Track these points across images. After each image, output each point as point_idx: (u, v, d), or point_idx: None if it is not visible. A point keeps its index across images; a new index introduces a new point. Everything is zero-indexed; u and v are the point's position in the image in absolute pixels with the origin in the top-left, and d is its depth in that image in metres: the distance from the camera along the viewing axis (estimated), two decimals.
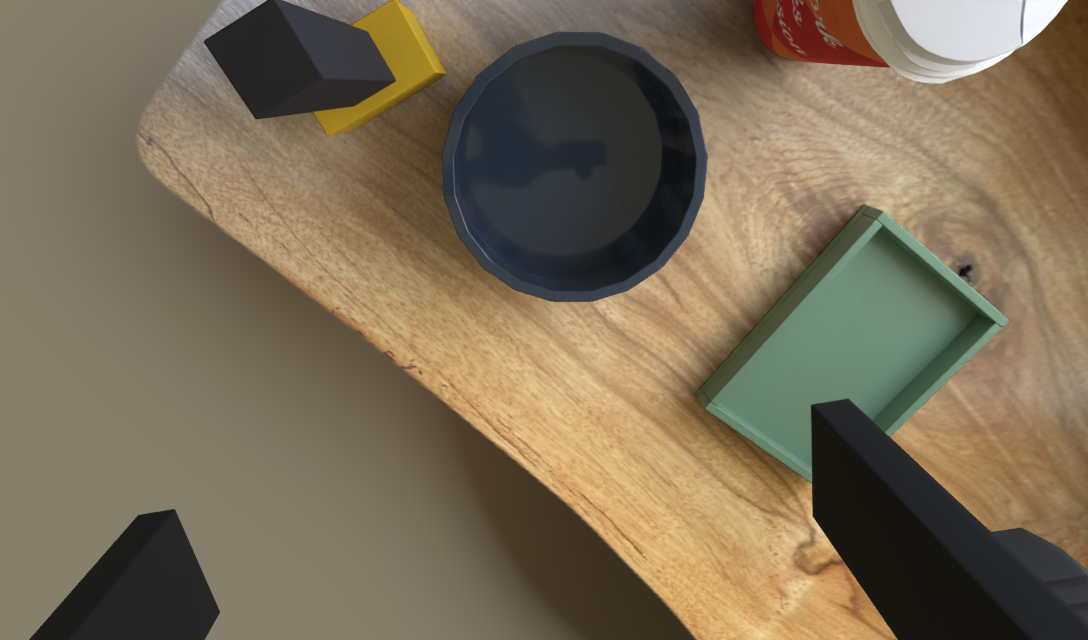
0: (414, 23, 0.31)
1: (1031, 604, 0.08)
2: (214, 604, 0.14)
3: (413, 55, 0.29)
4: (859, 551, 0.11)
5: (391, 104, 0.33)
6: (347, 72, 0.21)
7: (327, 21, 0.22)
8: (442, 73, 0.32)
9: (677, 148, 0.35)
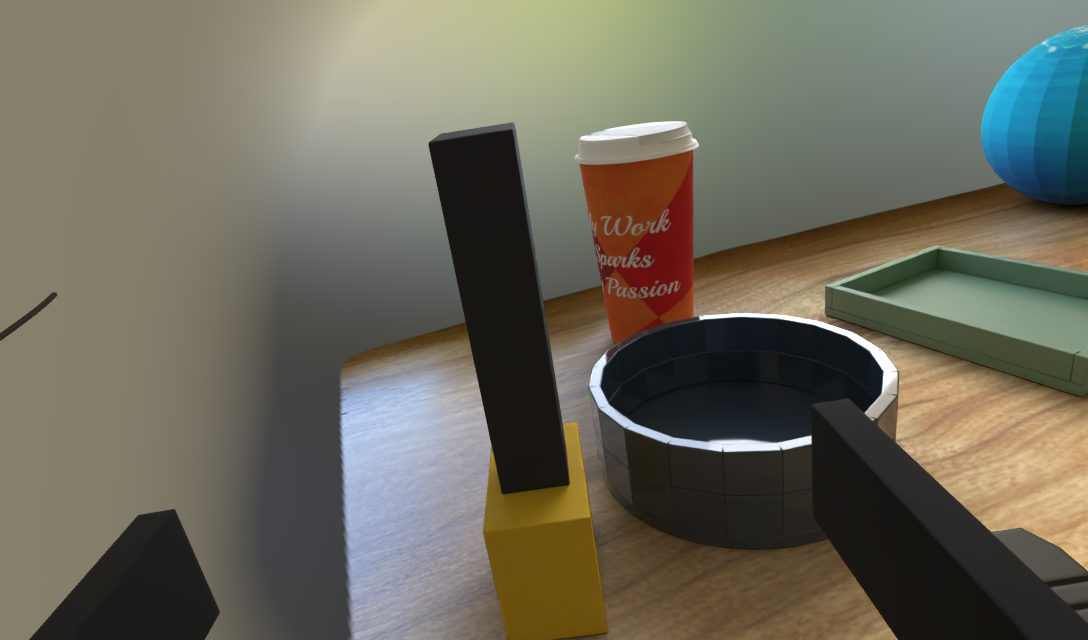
0: None
1: (1031, 604, 0.08)
2: (214, 604, 0.14)
3: None
4: (859, 551, 0.11)
5: None
6: None
7: None
8: None
9: (740, 378, 0.36)
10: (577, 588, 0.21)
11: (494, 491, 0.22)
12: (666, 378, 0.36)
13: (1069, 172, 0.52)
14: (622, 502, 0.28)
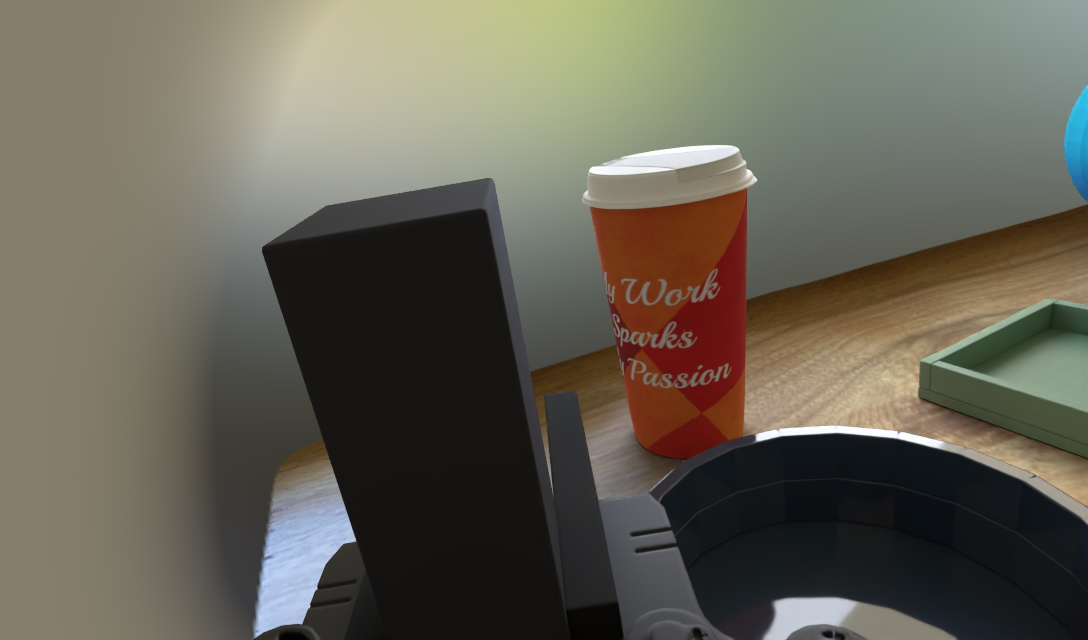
0: None
1: (582, 545, 0.10)
2: None
3: None
4: None
5: None
6: None
7: None
8: None
9: (833, 517, 0.25)
10: None
11: None
12: (727, 521, 0.24)
13: None
14: None
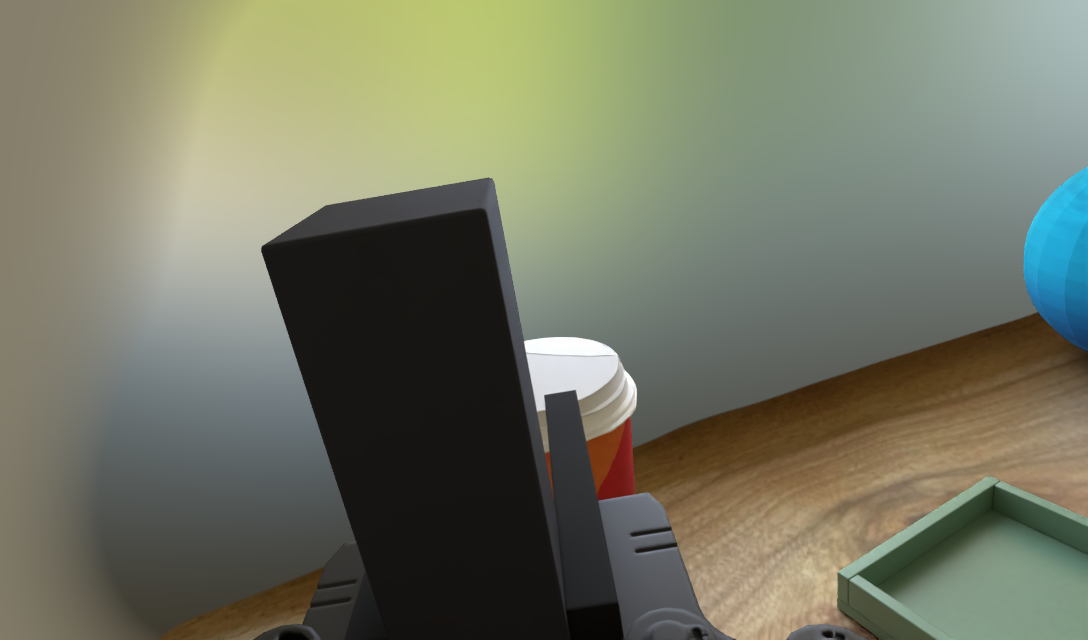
0: None
1: (582, 545, 0.10)
2: None
3: None
4: None
5: None
6: None
7: None
8: None
9: None
10: None
11: None
12: None
13: None
14: None
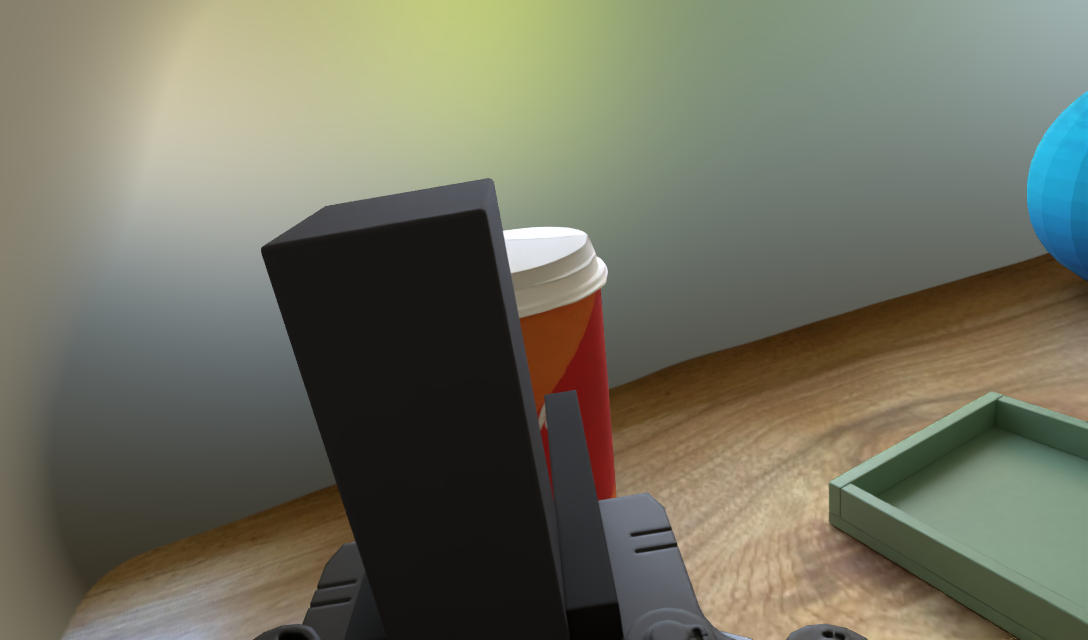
0: None
1: (582, 545, 0.10)
2: None
3: None
4: None
5: None
6: None
7: None
8: None
9: None
10: None
11: None
12: None
13: None
14: None
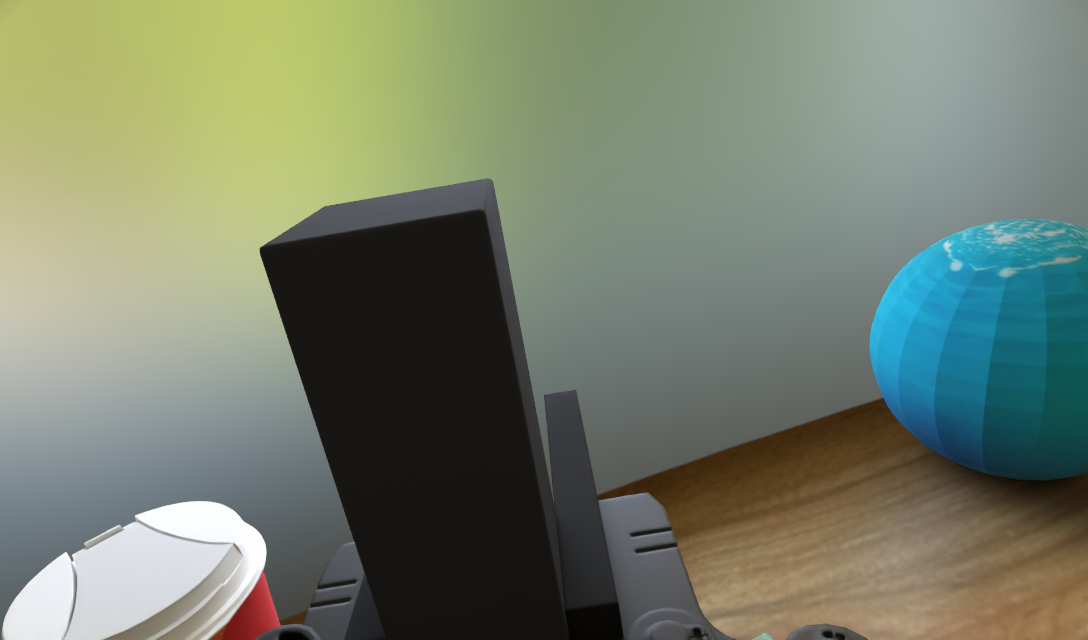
0: None
1: (582, 545, 0.10)
2: None
3: None
4: None
5: None
6: None
7: None
8: None
9: None
10: None
11: None
12: None
13: (988, 454, 0.34)
14: None
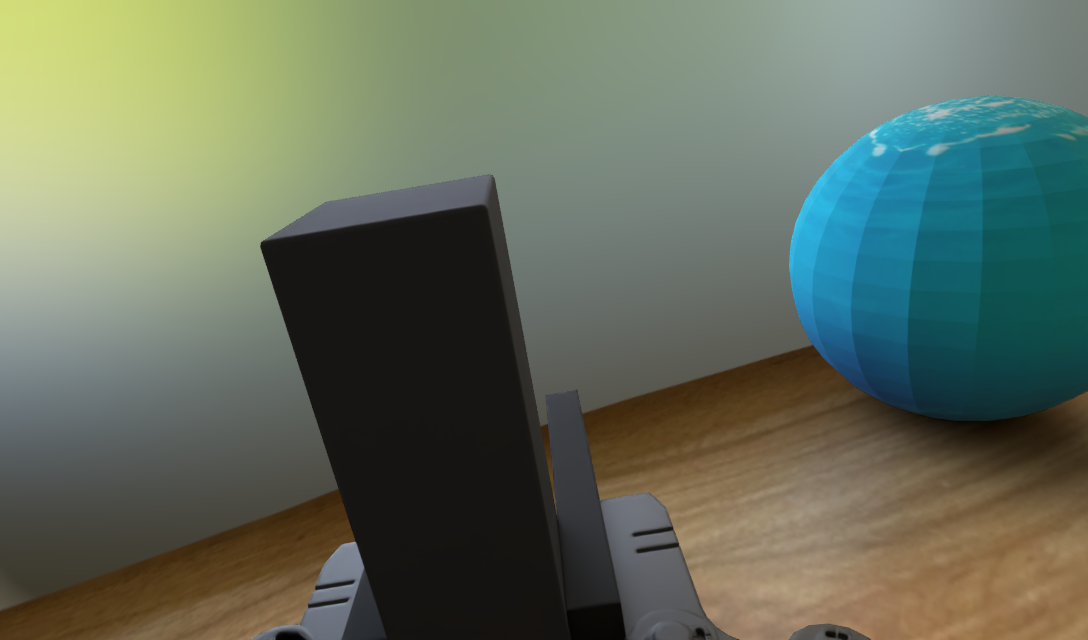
0: None
1: (584, 544, 0.10)
2: None
3: None
4: None
5: None
6: None
7: None
8: None
9: None
10: None
11: None
12: None
13: (916, 384, 0.27)
14: None
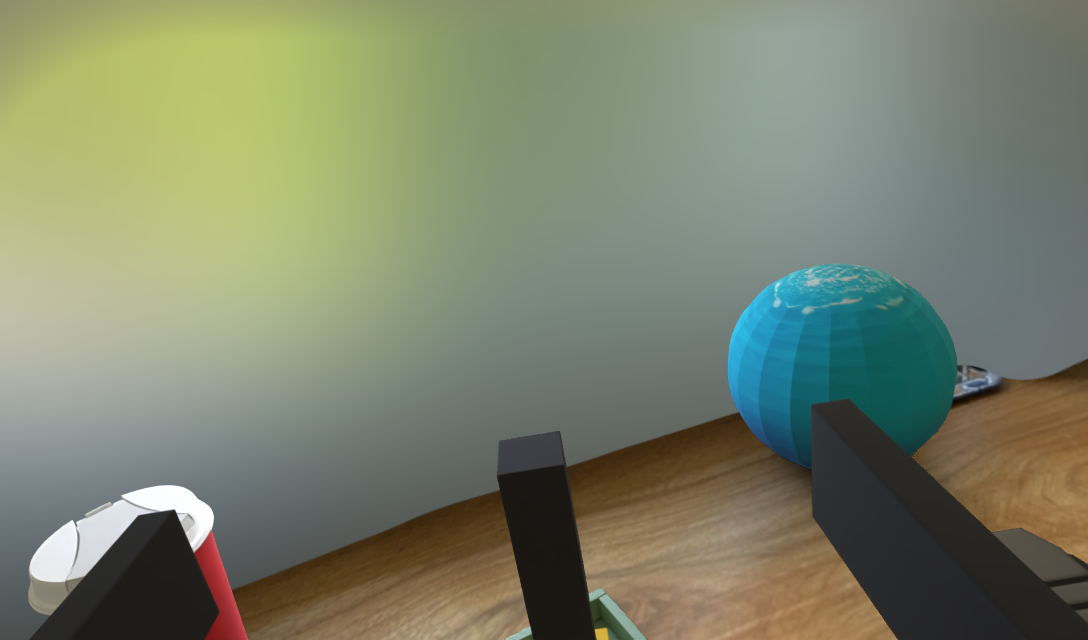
0: None
1: (1031, 604, 0.08)
2: (214, 604, 0.14)
3: None
4: (859, 551, 0.11)
5: None
6: None
7: None
8: None
9: None
10: None
11: None
12: None
13: (800, 453, 0.43)
14: None
